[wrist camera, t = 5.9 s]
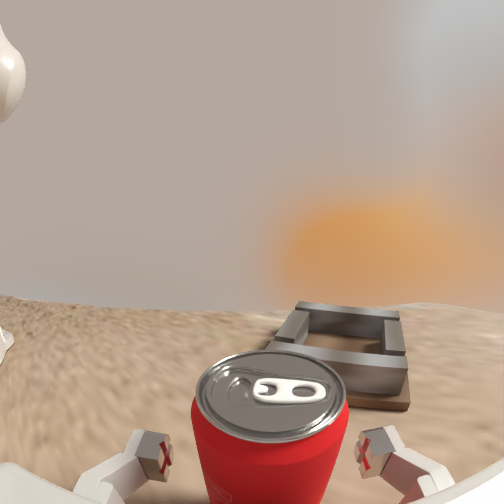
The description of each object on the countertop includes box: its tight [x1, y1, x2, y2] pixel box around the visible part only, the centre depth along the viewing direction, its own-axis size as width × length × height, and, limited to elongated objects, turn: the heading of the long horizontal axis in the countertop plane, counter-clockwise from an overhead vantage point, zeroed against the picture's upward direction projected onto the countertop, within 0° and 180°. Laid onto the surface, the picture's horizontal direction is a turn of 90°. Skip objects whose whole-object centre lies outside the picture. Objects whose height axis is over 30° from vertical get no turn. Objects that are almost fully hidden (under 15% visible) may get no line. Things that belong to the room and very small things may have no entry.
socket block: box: [265, 301, 410, 411], centre depth 29 cm, size 15×15×4 cm
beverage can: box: [191, 350, 349, 504], centre depth 10 cm, size 5×5×12 cm
